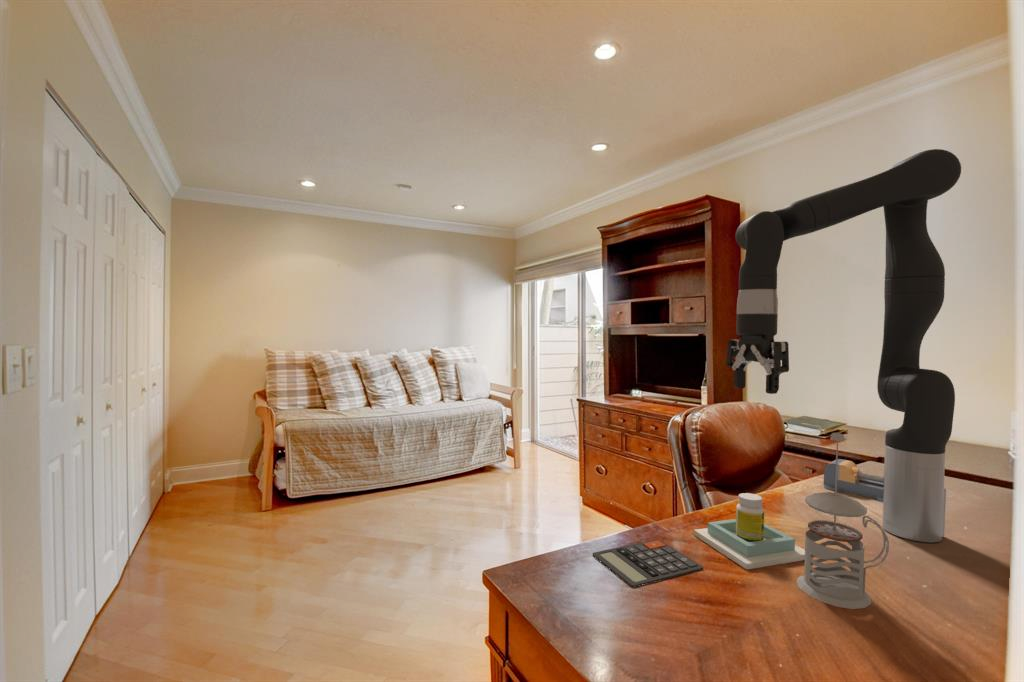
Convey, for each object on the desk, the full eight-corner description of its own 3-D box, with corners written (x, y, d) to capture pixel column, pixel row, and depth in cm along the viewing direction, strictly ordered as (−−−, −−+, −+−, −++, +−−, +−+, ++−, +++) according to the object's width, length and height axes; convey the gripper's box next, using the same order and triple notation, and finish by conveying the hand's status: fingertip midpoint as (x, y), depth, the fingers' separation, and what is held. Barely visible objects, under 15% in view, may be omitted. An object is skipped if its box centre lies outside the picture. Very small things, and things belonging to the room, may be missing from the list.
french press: (793, 568, 82) (797, 423, 81) (876, 585, 77) (882, 430, 76) (800, 598, 73) (804, 435, 72) (895, 619, 68) (901, 444, 67)
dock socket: (751, 526, 98) (751, 512, 98) (811, 558, 85) (811, 542, 85) (693, 534, 95) (693, 519, 94) (746, 569, 81) (747, 552, 81)
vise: (820, 488, 122) (821, 463, 122) (833, 480, 129) (834, 456, 129) (911, 509, 109) (912, 481, 108) (920, 499, 115) (921, 471, 115)
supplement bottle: (767, 547, 87) (768, 501, 87) (739, 545, 88) (740, 500, 88) (758, 536, 92) (759, 492, 92) (732, 534, 93) (733, 491, 92)
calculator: (704, 566, 81) (632, 584, 75) (704, 571, 81) (632, 590, 75) (657, 537, 92) (591, 551, 86) (657, 542, 92) (591, 557, 86)
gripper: (801, 311, 92) (798, 395, 93) (745, 313, 106) (744, 385, 107) (769, 311, 90) (767, 396, 91) (717, 312, 104) (716, 386, 104)
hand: (755, 390), depth 99 cm, fingers open, 8 cm apart
